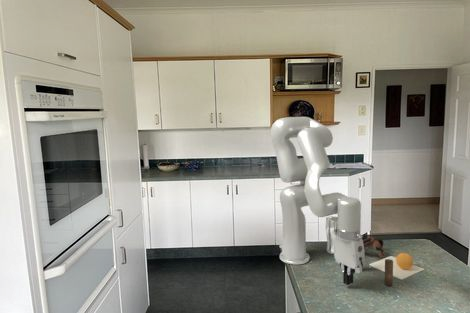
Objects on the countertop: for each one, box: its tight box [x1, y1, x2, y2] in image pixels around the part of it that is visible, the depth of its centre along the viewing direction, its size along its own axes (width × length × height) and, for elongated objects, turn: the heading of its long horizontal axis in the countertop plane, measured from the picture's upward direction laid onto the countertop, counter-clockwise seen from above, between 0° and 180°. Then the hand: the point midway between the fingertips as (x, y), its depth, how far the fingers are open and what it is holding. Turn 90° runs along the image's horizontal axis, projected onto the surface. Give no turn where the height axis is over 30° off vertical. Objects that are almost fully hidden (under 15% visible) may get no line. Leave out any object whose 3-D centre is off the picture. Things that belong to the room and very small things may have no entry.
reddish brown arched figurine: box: [362, 237, 385, 260], centre depth 139 cm, size 12×10×8 cm
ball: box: [395, 252, 414, 269], centre depth 125 cm, size 6×6×6 cm
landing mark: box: [368, 255, 425, 280], centre depth 126 cm, size 14×14×1 cm
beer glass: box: [325, 215, 338, 255], centre depth 142 cm, size 7×7×15 cm
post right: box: [383, 259, 394, 288], centre depth 113 cm, size 3×3×9 cm
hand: (348, 283), depth 113 cm, fingers closed
